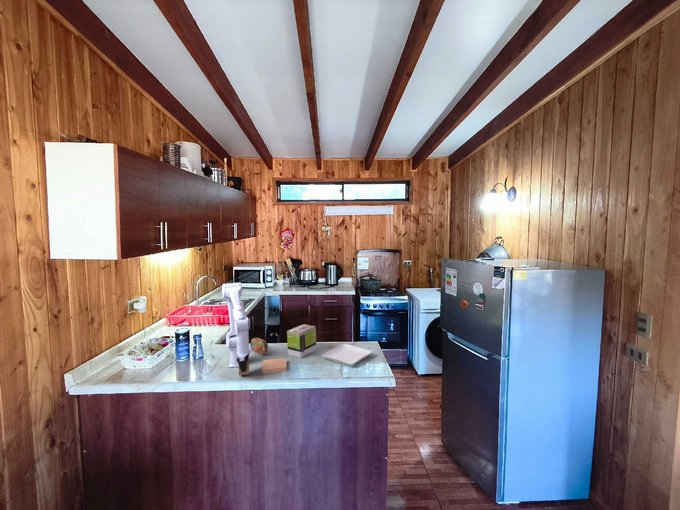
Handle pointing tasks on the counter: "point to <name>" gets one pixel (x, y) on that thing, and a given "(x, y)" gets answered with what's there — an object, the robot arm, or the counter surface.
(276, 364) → the terracotta trivet
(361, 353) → the salad plate
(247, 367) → the walnut block
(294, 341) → the tea box
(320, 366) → the counter surface
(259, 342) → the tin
